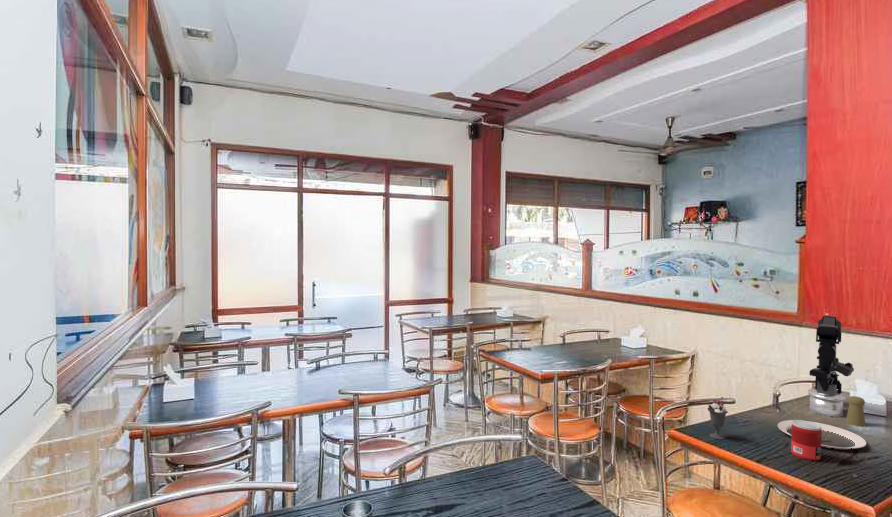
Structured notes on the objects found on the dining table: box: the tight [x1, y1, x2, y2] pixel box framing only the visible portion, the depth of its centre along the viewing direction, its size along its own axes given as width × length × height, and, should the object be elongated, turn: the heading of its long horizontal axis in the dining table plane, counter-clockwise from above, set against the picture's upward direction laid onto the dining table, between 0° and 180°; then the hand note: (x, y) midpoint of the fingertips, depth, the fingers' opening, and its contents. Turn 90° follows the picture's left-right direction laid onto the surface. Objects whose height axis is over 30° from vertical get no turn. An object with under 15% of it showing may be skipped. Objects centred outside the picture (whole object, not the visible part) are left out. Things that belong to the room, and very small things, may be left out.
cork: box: [845, 395, 867, 428], centre depth 183 cm, size 6×6×11 cm
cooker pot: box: [809, 395, 844, 418], centre depth 196 cm, size 11×11×7 cm
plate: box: [777, 419, 867, 450], centre depth 170 cm, size 26×26×2 cm
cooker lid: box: [807, 382, 847, 402], centre depth 196 cm, size 13×13×6 cm
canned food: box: [790, 419, 823, 462], centre depth 154 cm, size 8×8×11 cm
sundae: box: [707, 396, 729, 441], centre depth 169 cm, size 7×7×15 cm
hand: (826, 390), depth 196 cm, fingers closed on cooker lid, 2 cm apart
